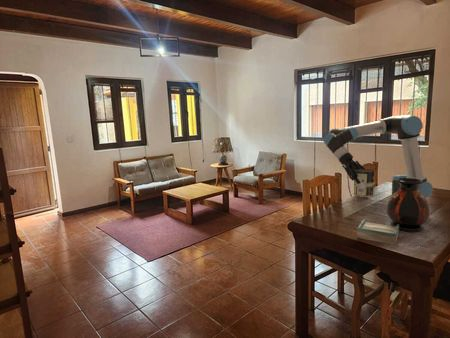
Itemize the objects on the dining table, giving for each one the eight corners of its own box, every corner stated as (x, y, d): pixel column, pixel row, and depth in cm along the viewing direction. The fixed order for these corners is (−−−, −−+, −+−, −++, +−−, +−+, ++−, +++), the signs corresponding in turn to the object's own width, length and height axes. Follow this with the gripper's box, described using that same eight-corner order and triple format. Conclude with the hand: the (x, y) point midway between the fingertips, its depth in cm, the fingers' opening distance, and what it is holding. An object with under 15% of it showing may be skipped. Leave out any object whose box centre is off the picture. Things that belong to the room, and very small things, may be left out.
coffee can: (370, 192, 173) (372, 168, 170) (375, 197, 163) (376, 172, 161) (351, 192, 175) (352, 168, 173) (355, 196, 165) (356, 171, 163)
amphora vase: (386, 219, 186) (388, 175, 182) (428, 224, 175) (431, 177, 171) (383, 230, 168) (386, 182, 164) (429, 237, 157) (433, 185, 153)
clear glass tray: (363, 228, 173) (363, 219, 172) (398, 234, 163) (399, 224, 162) (356, 237, 160) (357, 227, 160) (395, 244, 150) (395, 234, 149)
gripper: (349, 158, 185) (373, 187, 175) (328, 162, 171) (353, 193, 161) (358, 150, 180) (383, 179, 170) (337, 153, 166) (363, 185, 156)
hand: (369, 186), depth 166 cm, fingers closed on coffee can, 10 cm apart
